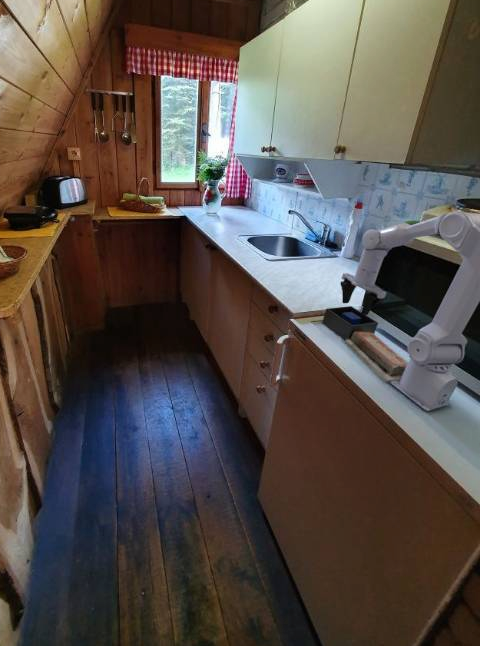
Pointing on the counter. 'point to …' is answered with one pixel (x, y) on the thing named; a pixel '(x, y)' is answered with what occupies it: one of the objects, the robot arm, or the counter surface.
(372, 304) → the robot arm
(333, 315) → the waste bin
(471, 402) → the counter surface
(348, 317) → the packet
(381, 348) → the packaged product
